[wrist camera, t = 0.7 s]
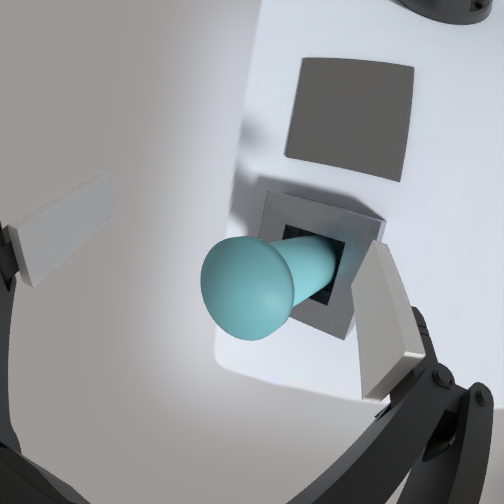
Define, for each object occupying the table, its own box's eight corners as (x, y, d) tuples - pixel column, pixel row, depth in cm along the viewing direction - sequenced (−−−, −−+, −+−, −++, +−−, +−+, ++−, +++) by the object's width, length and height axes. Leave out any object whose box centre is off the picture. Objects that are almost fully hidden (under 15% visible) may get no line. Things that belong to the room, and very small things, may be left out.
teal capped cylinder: (299, 219, 34) (208, 225, 21) (358, 237, 31) (298, 257, 18) (285, 277, 36) (195, 314, 23) (340, 299, 33) (272, 357, 20)
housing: (284, 193, 35) (267, 191, 32) (386, 221, 29) (381, 221, 25) (263, 289, 39) (246, 296, 35) (353, 327, 32) (343, 340, 29)
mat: (306, 59, 30) (304, 57, 30) (414, 69, 23) (413, 67, 23) (288, 157, 34) (285, 156, 34) (399, 182, 27) (399, 181, 27)
